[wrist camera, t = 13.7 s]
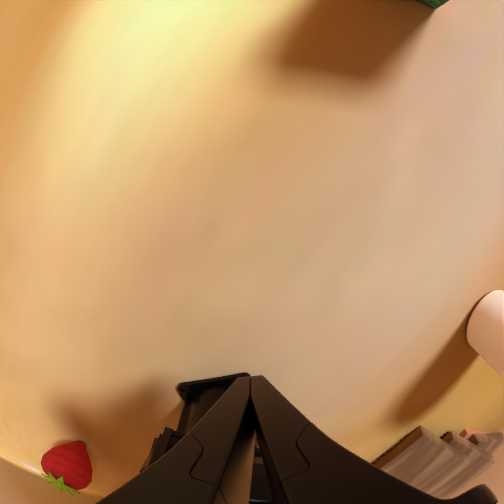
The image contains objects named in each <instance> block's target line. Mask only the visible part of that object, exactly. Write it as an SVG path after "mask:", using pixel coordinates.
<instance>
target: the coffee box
mask: <svg viewBox="0 0 504 504" xmlns="http://www.w3.org/2000/svg"><path fill="white" fill-rule="evenodd" d="M417 1H420V2H422V3H425V4H427V5H429V6H431V7H433V8H435V9H437V8H438V7H440V6H441V5H443V4H445V3H446V2H447V1H449V0H417Z"/></svg>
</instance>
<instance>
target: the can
mask: <svg viewBox="0 0 504 504" xmlns="http://www.w3.org/2000/svg"><path fill="white" fill-rule="evenodd" d="M467 341H468V343H469V344H470V346H471V347H472V348H473V349H474V350H475V351H476V352H477V353H478V354H479V355H480V356H481V357H482V358H483V359H484V360H485V361H486V362H487V363H488V364H489V365H490V366H491V367H492V368H493V369H494V370H495V371H496V372H497V373H498V374H499V375H500V376H501V377H502V379H503V380H504V291H502V290H495V291H493V292H490V293H488V294H487V295H485V296H484V297H483V298H482V299H481V300H480V301H479V302H478V304H477V305H476V306H475V308H474V310H473V311H472V313H471V315H470V318H469V321H468V325H467Z"/></svg>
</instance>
